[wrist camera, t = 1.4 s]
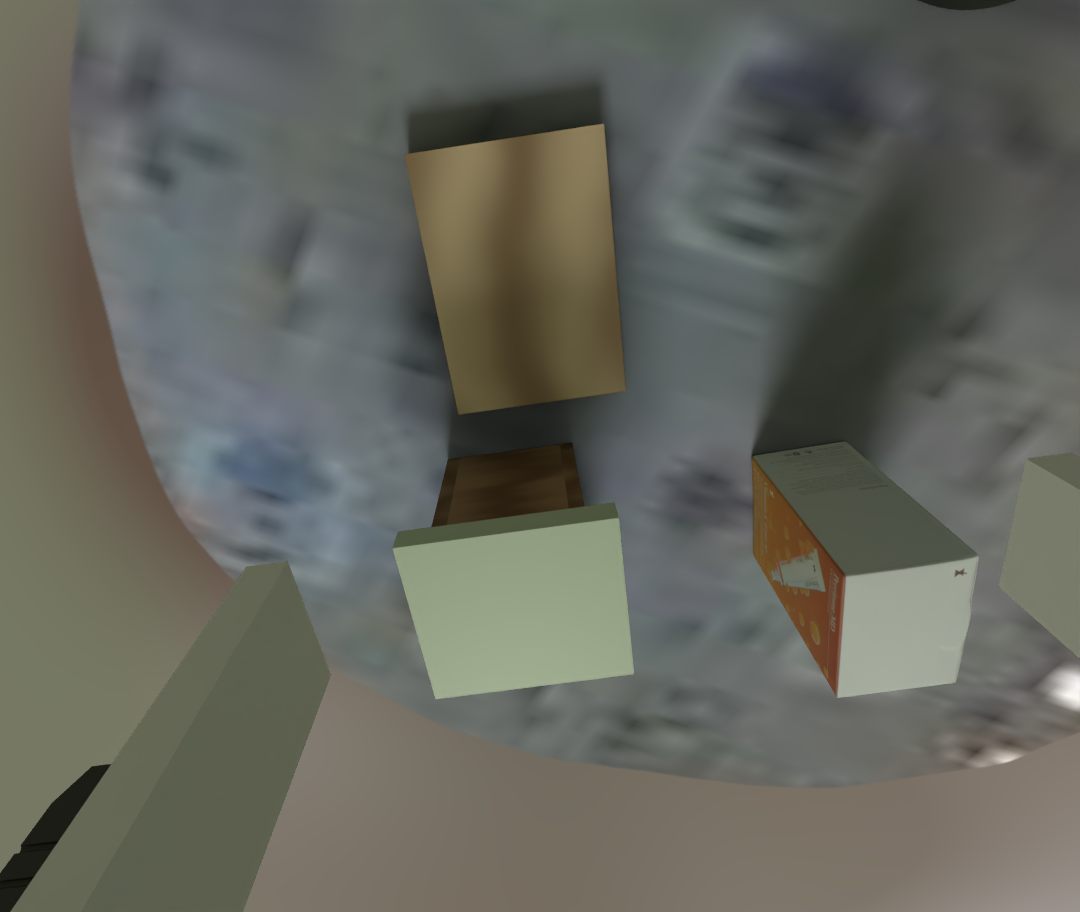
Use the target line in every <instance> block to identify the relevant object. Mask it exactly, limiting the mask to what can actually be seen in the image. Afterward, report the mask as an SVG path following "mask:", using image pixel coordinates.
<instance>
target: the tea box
mask: <svg viewBox="0 0 1080 912" xmlns="http://www.w3.org/2000/svg"><path fill="white" fill-rule="evenodd" d="M577 507H584V503H583V498H582V493H581V488H580V482H579V477H578V472H577V467H576V461H575V456H574V451H573V446H572V443H567V444H559V445H552V446H545V447H538V448H531V449H523V450H516V451H509V452H502V453H494V454H487V455H480V456H473V457H466V458H458V459H451V460H448V462H447V466H446V470H445V474H444V478H443V482H442V486H441V490H440V495H439V499H438V503H437V507H436V511H435V515H434V519H433V523H432V527H437V526H444V525H452V524H459V523H466V522H474V521H481V520H489V519H496V518H503V517H511V516H518V515H525V514H533V513H540V512H548V511H555V510H562V509H570V508H577Z"/></svg>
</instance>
